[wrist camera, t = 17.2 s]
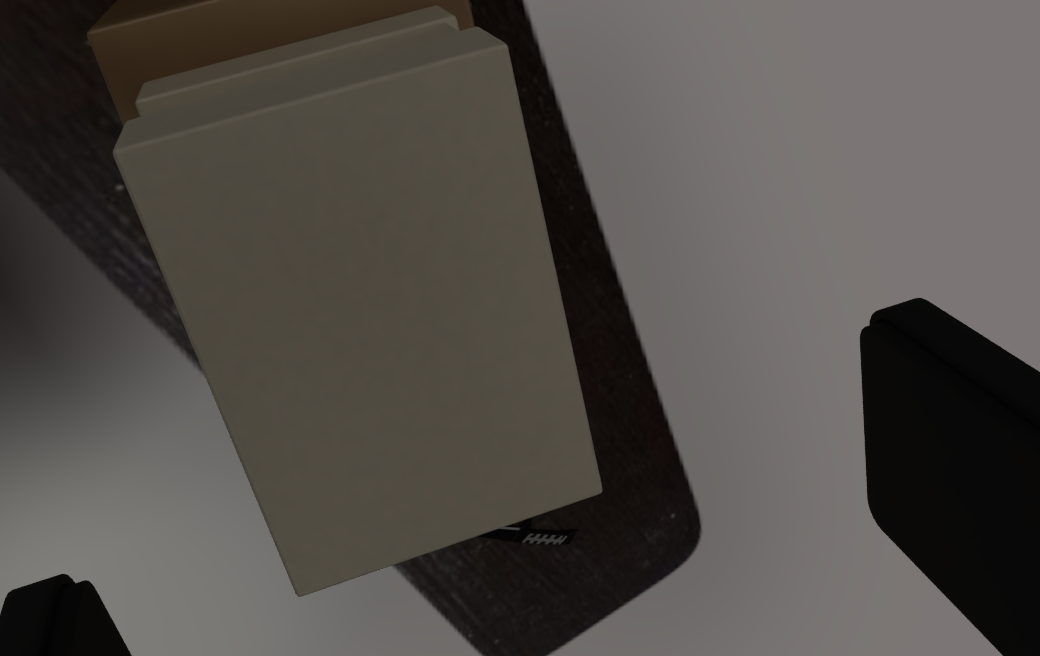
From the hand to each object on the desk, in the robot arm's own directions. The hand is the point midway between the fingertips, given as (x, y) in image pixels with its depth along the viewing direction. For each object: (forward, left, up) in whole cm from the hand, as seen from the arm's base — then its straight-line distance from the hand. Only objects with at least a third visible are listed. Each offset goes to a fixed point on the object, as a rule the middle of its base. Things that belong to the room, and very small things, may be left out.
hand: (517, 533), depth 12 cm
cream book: (+1, -1, -9) cm, 9 cm away
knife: (+24, +2, -34) cm, 42 cm away
